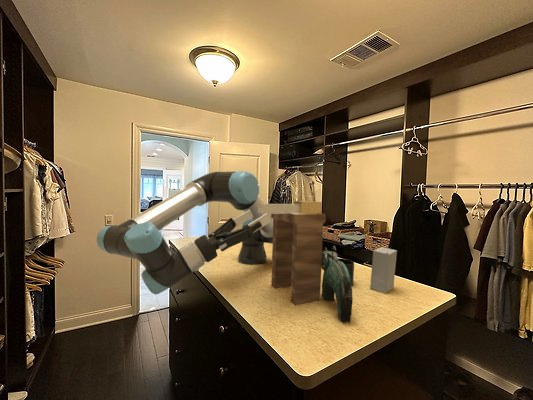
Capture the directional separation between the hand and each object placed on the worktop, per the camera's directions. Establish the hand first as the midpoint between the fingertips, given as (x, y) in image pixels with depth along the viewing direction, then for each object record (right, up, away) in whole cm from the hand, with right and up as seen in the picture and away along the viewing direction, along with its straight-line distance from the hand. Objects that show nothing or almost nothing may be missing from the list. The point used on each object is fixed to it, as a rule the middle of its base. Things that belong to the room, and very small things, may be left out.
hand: (259, 214), depth 80 cm
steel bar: (+10, 0, +5) cm, 11 cm away
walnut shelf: (+12, -30, +13) cm, 35 cm away
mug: (+32, -30, +25) cm, 51 cm away
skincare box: (+48, -31, +20) cm, 60 cm away
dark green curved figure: (+25, -31, +2) cm, 39 cm away
